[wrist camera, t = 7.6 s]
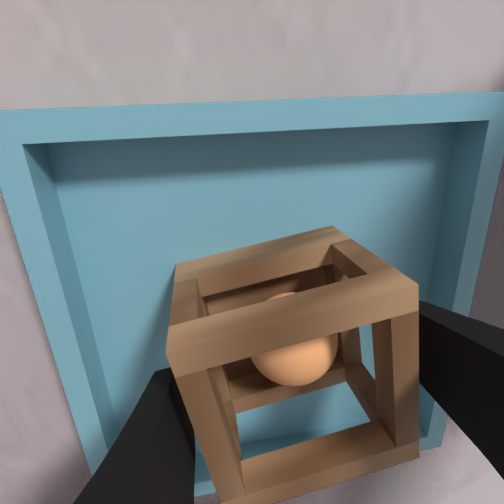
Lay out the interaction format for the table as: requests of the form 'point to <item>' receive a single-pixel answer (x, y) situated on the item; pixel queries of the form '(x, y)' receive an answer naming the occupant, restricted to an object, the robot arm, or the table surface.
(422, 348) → the robot arm
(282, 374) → the ball
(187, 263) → the wooden cage puzzle
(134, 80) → the table surface
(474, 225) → the tray
